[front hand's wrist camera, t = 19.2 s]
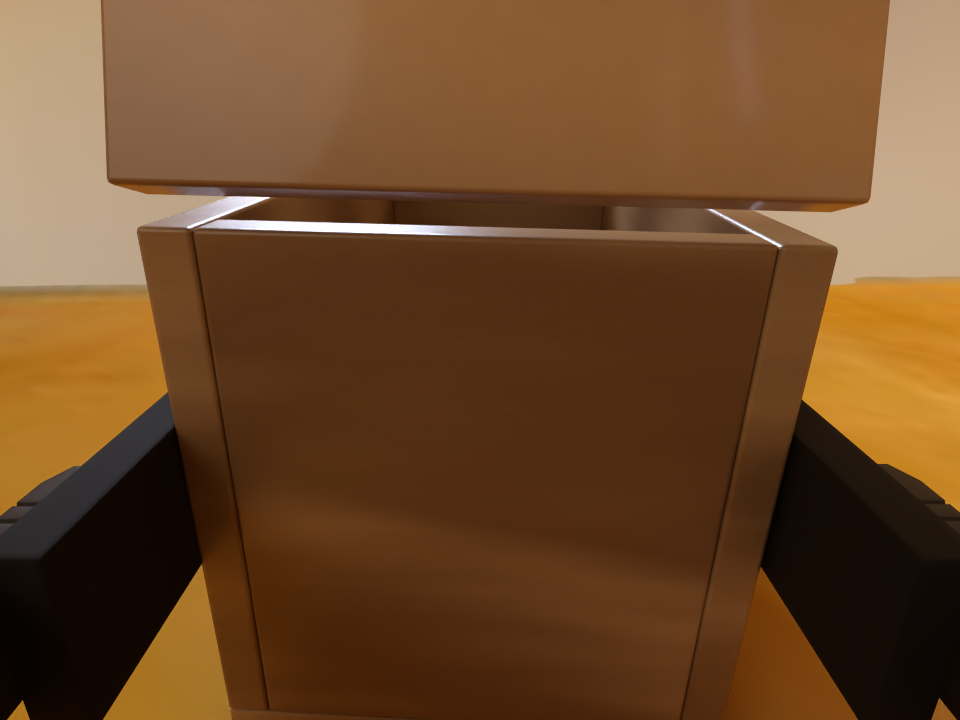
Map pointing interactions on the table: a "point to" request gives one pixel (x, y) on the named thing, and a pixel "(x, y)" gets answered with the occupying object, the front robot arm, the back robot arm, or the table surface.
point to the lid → (498, 100)
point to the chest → (481, 447)
